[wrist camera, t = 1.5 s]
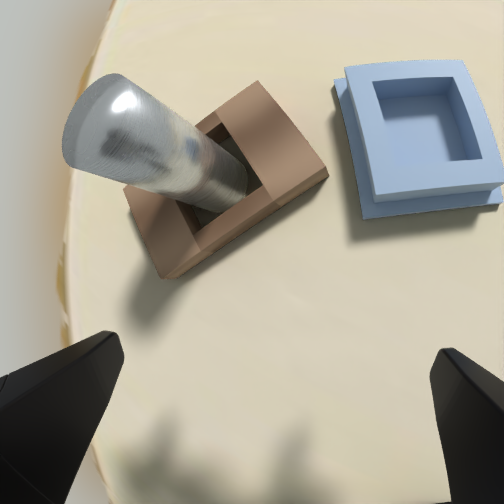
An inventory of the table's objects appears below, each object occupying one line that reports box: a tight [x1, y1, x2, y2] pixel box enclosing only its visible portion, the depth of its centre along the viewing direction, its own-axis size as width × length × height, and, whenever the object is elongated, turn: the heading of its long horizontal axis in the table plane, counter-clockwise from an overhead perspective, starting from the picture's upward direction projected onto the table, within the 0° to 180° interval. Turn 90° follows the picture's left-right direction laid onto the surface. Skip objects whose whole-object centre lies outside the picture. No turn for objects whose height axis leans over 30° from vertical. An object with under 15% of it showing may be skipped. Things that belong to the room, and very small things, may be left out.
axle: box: [62, 74, 248, 213], centre depth 16 cm, size 4×4×12 cm
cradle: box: [334, 60, 504, 220], centre depth 15 cm, size 10×10×3 cm
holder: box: [123, 80, 329, 279], centre depth 20 cm, size 8×13×2 cm, turn 121°
